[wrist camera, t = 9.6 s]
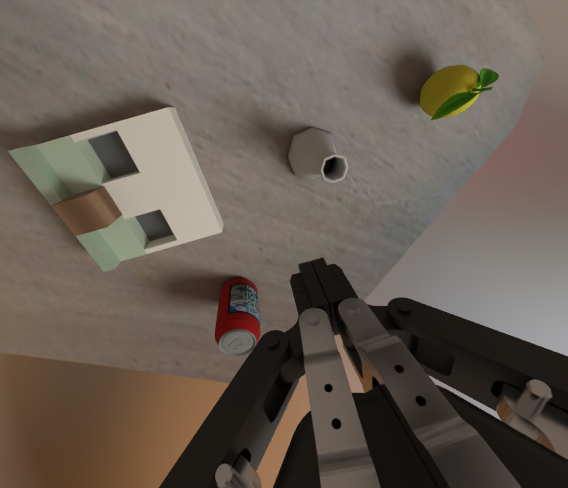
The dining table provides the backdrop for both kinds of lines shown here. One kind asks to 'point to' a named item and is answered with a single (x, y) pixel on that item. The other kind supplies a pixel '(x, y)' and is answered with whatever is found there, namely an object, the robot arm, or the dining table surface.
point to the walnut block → (88, 211)
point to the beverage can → (237, 318)
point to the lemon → (454, 90)
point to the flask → (316, 156)
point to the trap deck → (129, 183)
